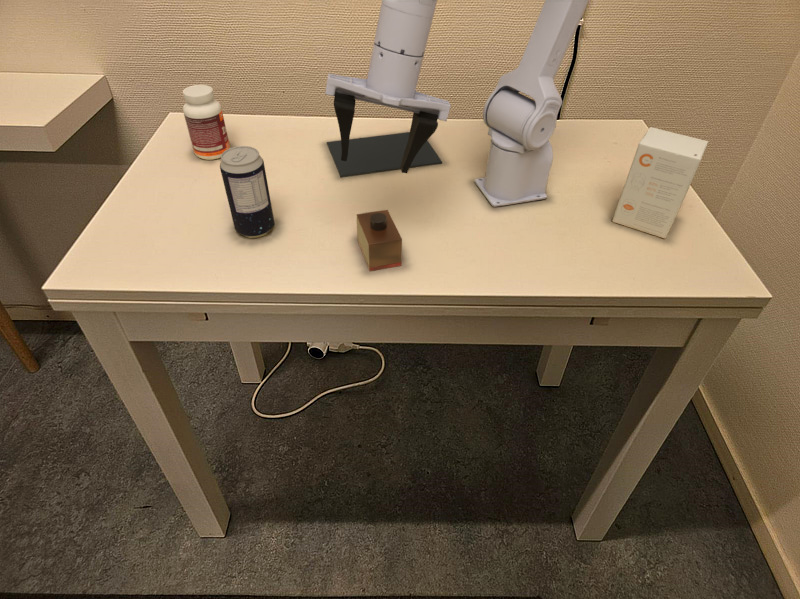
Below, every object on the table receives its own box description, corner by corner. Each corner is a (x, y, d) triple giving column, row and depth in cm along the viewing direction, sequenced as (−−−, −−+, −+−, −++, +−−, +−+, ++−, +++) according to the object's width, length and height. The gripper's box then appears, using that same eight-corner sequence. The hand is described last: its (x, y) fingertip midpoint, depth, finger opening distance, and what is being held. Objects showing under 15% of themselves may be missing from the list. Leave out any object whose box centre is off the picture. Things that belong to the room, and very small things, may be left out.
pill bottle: (236, 155, 93) (222, 92, 86) (201, 164, 91) (184, 101, 83) (223, 140, 97) (209, 79, 89) (190, 149, 94) (172, 87, 87)
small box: (674, 219, 82) (710, 140, 73) (665, 240, 78) (702, 159, 69) (621, 202, 85) (650, 125, 76) (610, 222, 81) (638, 142, 72)
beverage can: (282, 222, 79) (270, 148, 71) (263, 244, 75) (247, 169, 67) (248, 215, 80) (232, 141, 72) (228, 236, 76) (208, 161, 68)
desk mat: (420, 132, 101) (420, 130, 101) (442, 163, 93) (442, 161, 92) (326, 144, 97) (326, 141, 97) (340, 177, 89) (340, 175, 88)
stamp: (387, 235, 77) (387, 200, 73) (401, 265, 73) (402, 230, 68) (357, 240, 76) (355, 205, 72) (369, 271, 72) (368, 235, 67)
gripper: (332, 40, 54) (314, 164, 62) (466, 72, 57) (433, 188, 65) (335, 28, 60) (317, 143, 68) (456, 58, 63) (427, 166, 70)
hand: (374, 164), depth 67 cm, fingers open, 7 cm apart
